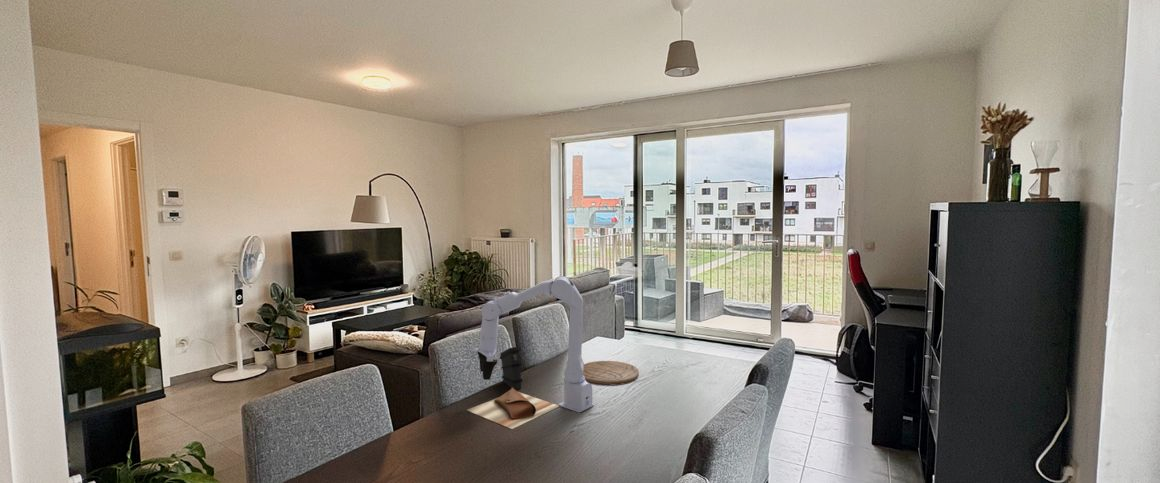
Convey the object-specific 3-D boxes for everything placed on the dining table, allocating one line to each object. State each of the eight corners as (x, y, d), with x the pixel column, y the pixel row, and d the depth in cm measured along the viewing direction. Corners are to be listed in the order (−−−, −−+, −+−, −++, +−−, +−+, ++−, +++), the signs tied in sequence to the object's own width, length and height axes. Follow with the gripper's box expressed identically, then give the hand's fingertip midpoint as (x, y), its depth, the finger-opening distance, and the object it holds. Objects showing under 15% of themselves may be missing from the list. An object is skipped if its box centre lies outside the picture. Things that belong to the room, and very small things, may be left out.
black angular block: (516, 388, 173) (509, 347, 178) (504, 393, 184) (497, 354, 188) (526, 386, 175) (518, 346, 180) (513, 391, 186) (506, 353, 190)
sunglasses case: (491, 400, 165) (500, 382, 166) (508, 406, 168) (516, 388, 170) (512, 419, 150) (522, 399, 151) (529, 425, 153) (539, 406, 155)
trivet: (599, 361, 212) (599, 357, 212) (649, 372, 197) (649, 367, 197) (564, 377, 191) (564, 372, 191) (618, 390, 177) (618, 385, 177)
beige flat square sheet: (560, 406, 161) (560, 406, 161) (511, 429, 144) (511, 428, 144) (515, 391, 175) (515, 390, 175) (466, 410, 158) (466, 409, 158)
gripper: (474, 330, 168) (471, 367, 169) (479, 342, 154) (475, 383, 155) (494, 330, 170) (491, 367, 171) (501, 342, 156) (497, 382, 157)
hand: (485, 375), depth 163 cm, fingers open, 7 cm apart
